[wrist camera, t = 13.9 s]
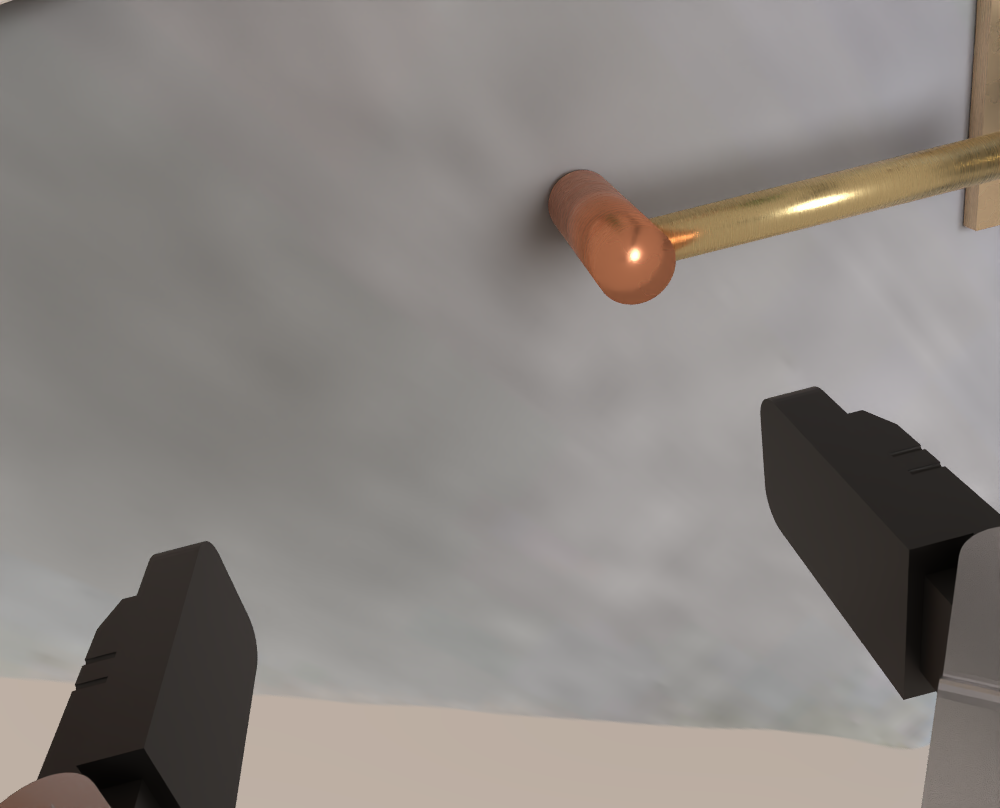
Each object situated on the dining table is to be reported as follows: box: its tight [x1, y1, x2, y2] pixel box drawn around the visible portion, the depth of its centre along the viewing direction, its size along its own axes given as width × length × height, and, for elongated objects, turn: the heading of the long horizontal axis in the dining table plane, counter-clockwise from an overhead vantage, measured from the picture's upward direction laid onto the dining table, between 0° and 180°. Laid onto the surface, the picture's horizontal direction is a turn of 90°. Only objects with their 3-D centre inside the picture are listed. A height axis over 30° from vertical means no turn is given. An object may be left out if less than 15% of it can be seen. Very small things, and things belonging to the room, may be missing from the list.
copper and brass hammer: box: [548, 131, 1000, 305], centre depth 35 cm, size 20×3×9 cm, turn 102°
